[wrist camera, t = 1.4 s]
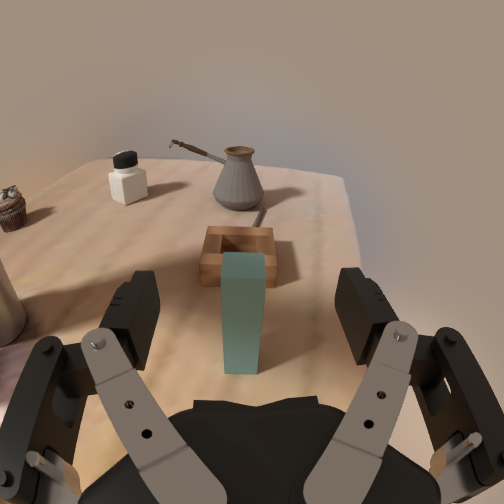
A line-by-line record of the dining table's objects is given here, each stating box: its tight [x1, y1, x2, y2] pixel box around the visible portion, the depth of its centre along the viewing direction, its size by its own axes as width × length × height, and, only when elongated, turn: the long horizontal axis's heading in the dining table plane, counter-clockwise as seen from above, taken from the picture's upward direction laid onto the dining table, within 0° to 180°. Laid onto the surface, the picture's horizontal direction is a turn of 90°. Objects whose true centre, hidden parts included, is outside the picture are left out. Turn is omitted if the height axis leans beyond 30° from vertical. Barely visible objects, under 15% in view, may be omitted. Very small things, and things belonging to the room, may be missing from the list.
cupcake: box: [0, 185, 27, 232], centre depth 55 cm, size 10×10×10 cm
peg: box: [221, 252, 266, 374], centre depth 29 cm, size 4×4×14 cm
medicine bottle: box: [109, 151, 148, 206], centre depth 66 cm, size 7×7×12 cm
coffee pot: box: [169, 140, 264, 211], centre depth 64 cm, size 21×12×15 cm, turn 86°
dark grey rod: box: [252, 208, 265, 227], centre depth 59 cm, size 15×1×1 cm, turn 167°
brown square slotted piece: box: [199, 226, 278, 288], centre depth 47 cm, size 11×11×4 cm
